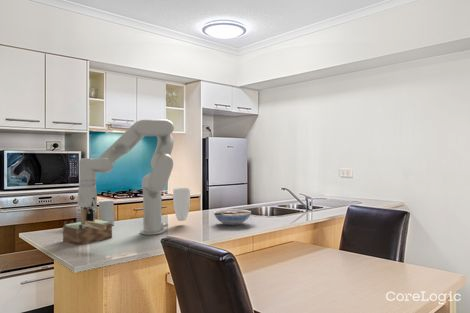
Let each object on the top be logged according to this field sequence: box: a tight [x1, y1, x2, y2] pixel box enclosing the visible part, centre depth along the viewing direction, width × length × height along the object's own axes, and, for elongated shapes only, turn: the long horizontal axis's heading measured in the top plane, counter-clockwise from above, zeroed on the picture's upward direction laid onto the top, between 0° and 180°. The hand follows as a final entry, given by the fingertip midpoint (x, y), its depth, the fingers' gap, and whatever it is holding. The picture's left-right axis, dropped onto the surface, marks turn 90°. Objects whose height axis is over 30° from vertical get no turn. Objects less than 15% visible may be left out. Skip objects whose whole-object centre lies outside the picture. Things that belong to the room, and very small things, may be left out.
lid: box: [65, 209, 110, 229], centre depth 175 cm, size 17×12×8 cm
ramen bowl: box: [212, 208, 253, 226], centre depth 213 cm, size 25×23×8 cm
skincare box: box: [98, 199, 115, 226], centre depth 211 cm, size 8×6×15 cm
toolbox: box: [62, 220, 113, 246], centre depth 175 cm, size 18×14×9 cm
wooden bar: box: [85, 221, 106, 230], centre depth 161 cm, size 2×14×2 cm, turn 54°
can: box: [75, 205, 99, 223], centre depth 206 cm, size 11×11×12 cm
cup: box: [172, 187, 191, 222], centre depth 211 cm, size 10×10×22 cm
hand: (87, 220), depth 175 cm, fingers open, 2 cm apart
